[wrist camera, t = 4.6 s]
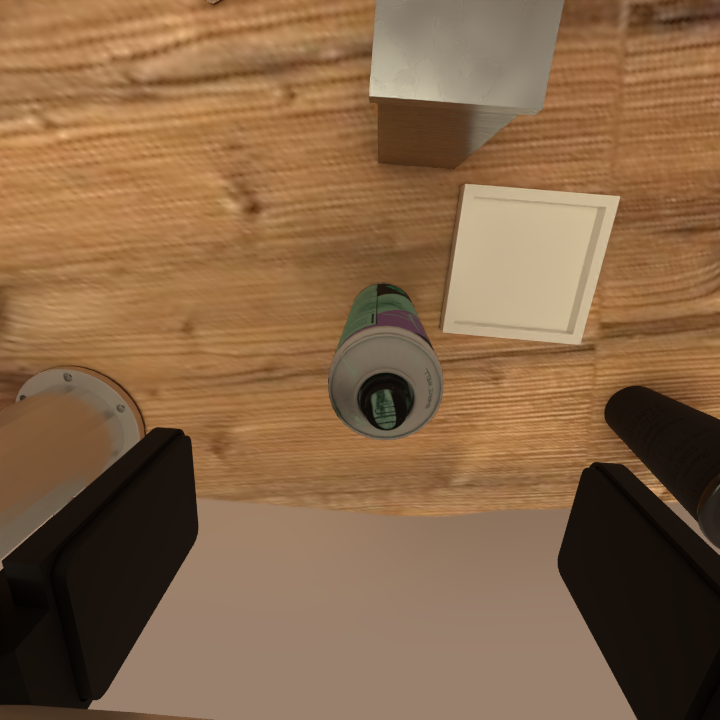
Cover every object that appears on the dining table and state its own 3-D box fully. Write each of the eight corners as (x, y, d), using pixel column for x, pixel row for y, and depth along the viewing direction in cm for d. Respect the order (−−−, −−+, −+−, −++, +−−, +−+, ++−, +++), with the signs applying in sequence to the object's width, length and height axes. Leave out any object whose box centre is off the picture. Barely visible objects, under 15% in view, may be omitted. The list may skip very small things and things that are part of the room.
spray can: (379, 355, 36) (380, 494, 17) (339, 311, 35) (290, 407, 16) (426, 315, 34) (484, 418, 15) (385, 269, 33) (392, 317, 14)
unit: (457, 173, 31) (542, 109, 15) (374, 166, 31) (369, 95, 15) (476, 42, 28) (605, -211, 12) (385, 36, 28) (393, -224, 12)
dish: (570, 339, 34) (580, 344, 33) (439, 327, 35) (442, 332, 33) (606, 198, 31) (620, 196, 29) (460, 186, 31) (465, 183, 29)
